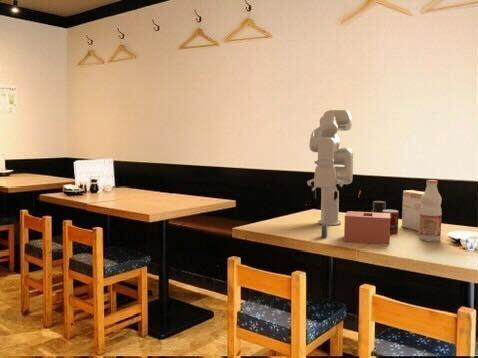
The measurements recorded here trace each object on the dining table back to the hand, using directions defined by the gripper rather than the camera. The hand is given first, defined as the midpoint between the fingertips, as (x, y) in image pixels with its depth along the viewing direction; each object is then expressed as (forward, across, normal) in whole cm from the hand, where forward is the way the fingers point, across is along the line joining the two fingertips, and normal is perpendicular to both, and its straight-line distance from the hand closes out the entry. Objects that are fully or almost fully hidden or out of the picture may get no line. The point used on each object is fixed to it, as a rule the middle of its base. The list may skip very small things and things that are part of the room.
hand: (324, 199), depth 231 cm
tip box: (+18, +20, 0) cm, 27 cm away
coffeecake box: (+18, +43, +36) cm, 59 cm away
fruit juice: (+18, +48, +10) cm, 53 cm away
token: (+18, 0, 0) cm, 18 cm away
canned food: (+18, +30, +22) cm, 42 cm away
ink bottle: (+18, +24, +46) cm, 55 cm away
